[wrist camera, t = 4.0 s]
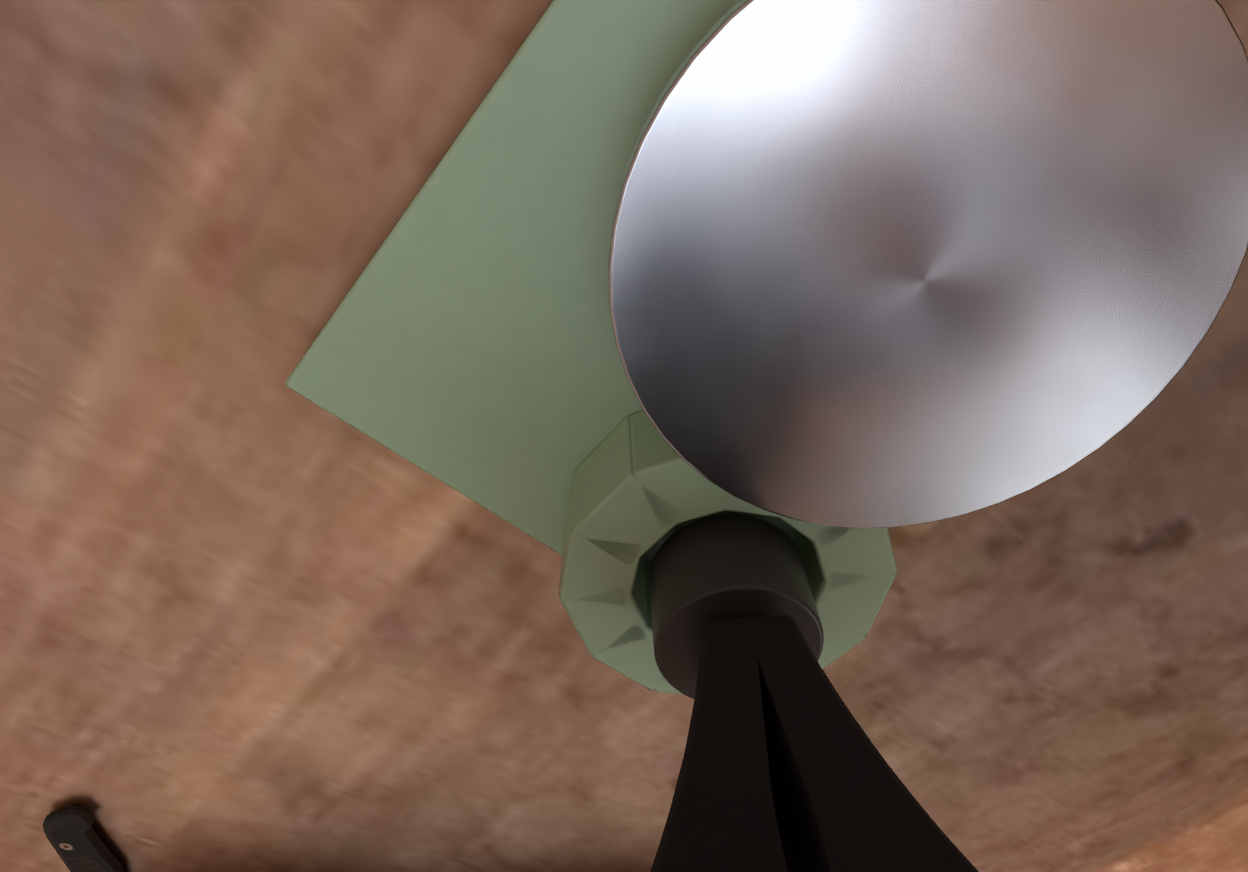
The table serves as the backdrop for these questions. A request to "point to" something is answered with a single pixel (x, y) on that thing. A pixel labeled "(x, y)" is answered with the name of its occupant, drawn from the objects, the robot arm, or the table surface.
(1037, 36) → the scale pan
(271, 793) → the table surface
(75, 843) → the knife
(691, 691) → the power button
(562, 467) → the scale
